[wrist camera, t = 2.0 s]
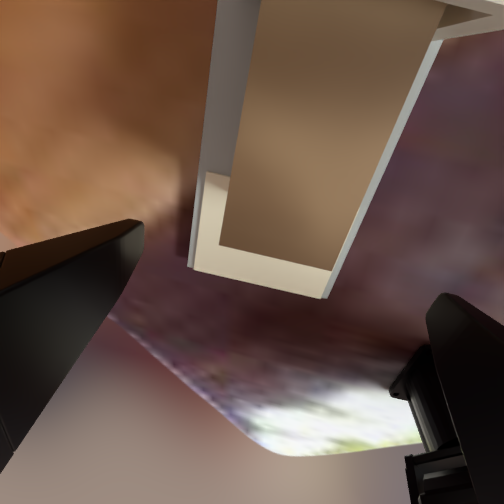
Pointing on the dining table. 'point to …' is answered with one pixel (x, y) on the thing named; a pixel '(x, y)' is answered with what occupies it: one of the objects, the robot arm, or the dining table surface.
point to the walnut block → (319, 120)
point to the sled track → (226, 131)
